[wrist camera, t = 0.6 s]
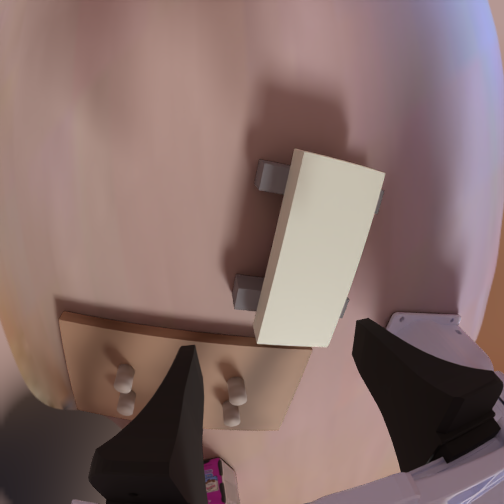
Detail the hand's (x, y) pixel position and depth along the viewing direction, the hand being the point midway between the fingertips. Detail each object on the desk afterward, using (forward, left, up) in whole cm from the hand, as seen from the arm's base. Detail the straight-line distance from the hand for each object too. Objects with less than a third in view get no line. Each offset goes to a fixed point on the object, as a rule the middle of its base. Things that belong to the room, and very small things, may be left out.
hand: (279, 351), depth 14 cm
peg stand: (+4, +12, -10) cm, 16 cm away
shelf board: (-3, -2, -8) cm, 8 cm away
